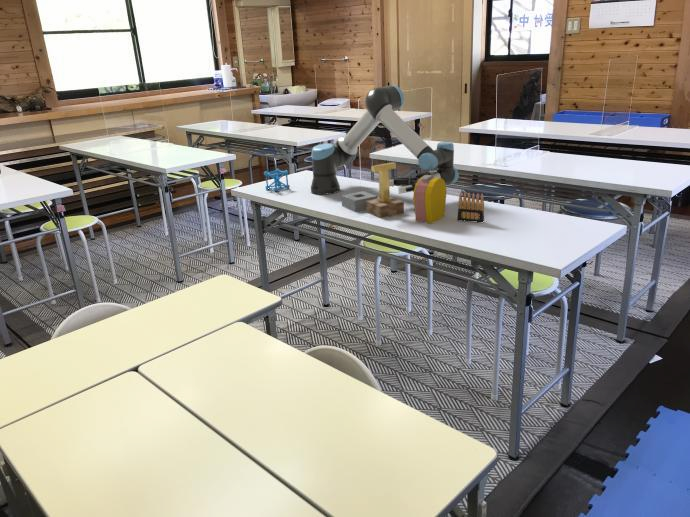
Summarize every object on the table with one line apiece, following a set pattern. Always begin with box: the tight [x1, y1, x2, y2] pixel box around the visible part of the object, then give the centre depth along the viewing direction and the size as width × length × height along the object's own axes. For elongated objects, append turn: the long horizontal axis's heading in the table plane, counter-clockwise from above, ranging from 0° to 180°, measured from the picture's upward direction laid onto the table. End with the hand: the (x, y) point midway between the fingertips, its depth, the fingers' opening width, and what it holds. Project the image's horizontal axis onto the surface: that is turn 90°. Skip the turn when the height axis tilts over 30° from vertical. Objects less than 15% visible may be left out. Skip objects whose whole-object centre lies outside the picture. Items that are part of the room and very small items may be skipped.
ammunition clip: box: [456, 191, 485, 223], centre depth 220 cm, size 11×2×12 cm, turn 62°
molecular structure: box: [263, 168, 291, 192], centre depth 289 cm, size 10×10×10 cm
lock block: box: [365, 196, 405, 219], centre depth 239 cm, size 12×12×5 cm
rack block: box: [341, 190, 378, 212], centre depth 251 cm, size 12×12×5 cm
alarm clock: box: [412, 175, 447, 224], centre depth 225 cm, size 15×8×18 cm, turn 145°
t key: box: [370, 162, 397, 203], centre depth 236 cm, size 3×11×21 cm, turn 120°
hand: (389, 187), depth 237 cm, fingers open, 13 cm apart
